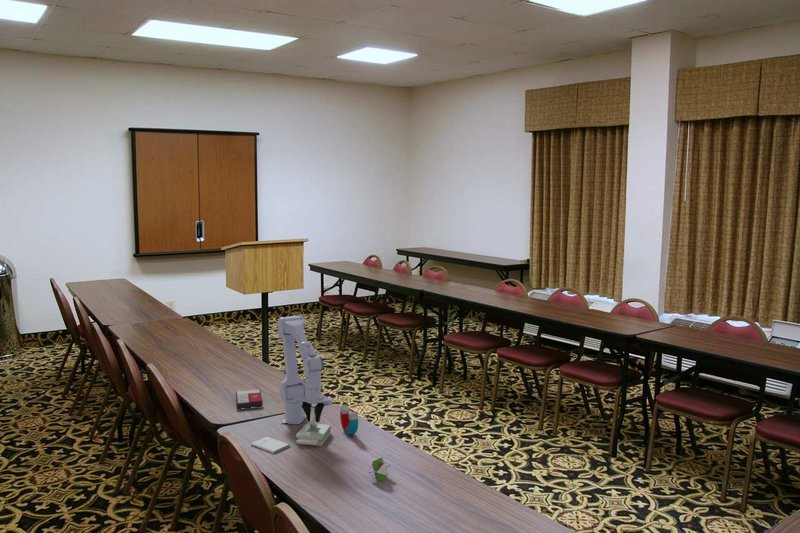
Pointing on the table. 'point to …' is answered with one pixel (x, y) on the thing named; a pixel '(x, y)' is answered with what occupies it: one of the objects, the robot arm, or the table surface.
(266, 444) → the external hard drive
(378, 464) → the geometric puzzle
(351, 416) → the magnet
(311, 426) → the pin
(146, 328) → the table surface
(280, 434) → the table surface
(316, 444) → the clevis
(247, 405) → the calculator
